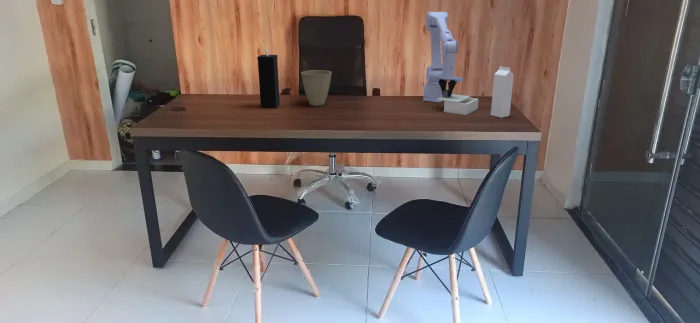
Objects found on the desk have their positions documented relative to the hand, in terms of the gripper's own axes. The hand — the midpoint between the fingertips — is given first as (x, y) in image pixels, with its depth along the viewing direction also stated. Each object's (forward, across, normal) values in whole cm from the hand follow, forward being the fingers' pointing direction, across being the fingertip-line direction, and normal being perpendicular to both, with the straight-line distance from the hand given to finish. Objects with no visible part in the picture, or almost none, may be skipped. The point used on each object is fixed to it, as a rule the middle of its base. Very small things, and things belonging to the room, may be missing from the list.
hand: (446, 95), depth 235 cm
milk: (+6, +26, +1) cm, 27 cm away
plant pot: (+6, -58, -27) cm, 64 cm away
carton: (+6, +8, 0) cm, 10 cm away
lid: (+1, +3, 0) cm, 4 cm away
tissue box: (+6, -74, -44) cm, 86 cm away
